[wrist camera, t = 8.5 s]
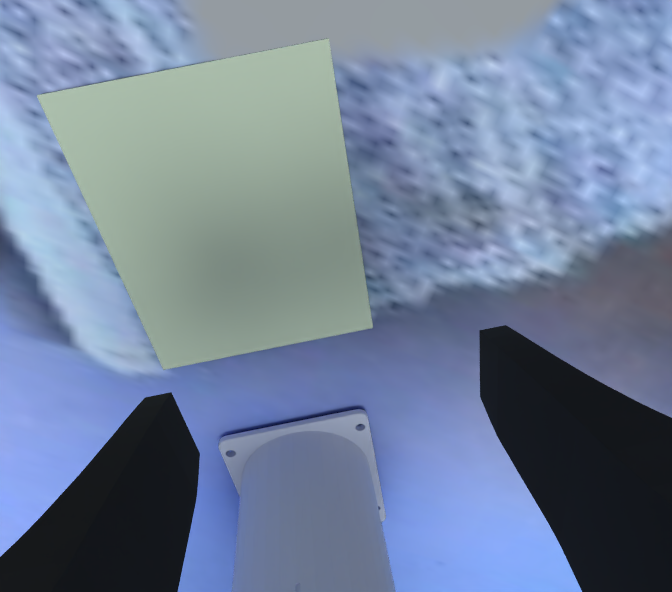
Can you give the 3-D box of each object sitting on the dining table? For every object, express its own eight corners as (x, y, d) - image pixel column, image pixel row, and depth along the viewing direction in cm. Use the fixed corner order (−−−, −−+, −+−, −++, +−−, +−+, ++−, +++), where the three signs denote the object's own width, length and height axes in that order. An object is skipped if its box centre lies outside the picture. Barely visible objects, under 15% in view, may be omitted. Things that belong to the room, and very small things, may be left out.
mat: (371, 323, 22) (373, 327, 21) (165, 364, 22) (163, 369, 21) (327, 38, 16) (328, 38, 15) (42, 94, 16) (36, 95, 15)
